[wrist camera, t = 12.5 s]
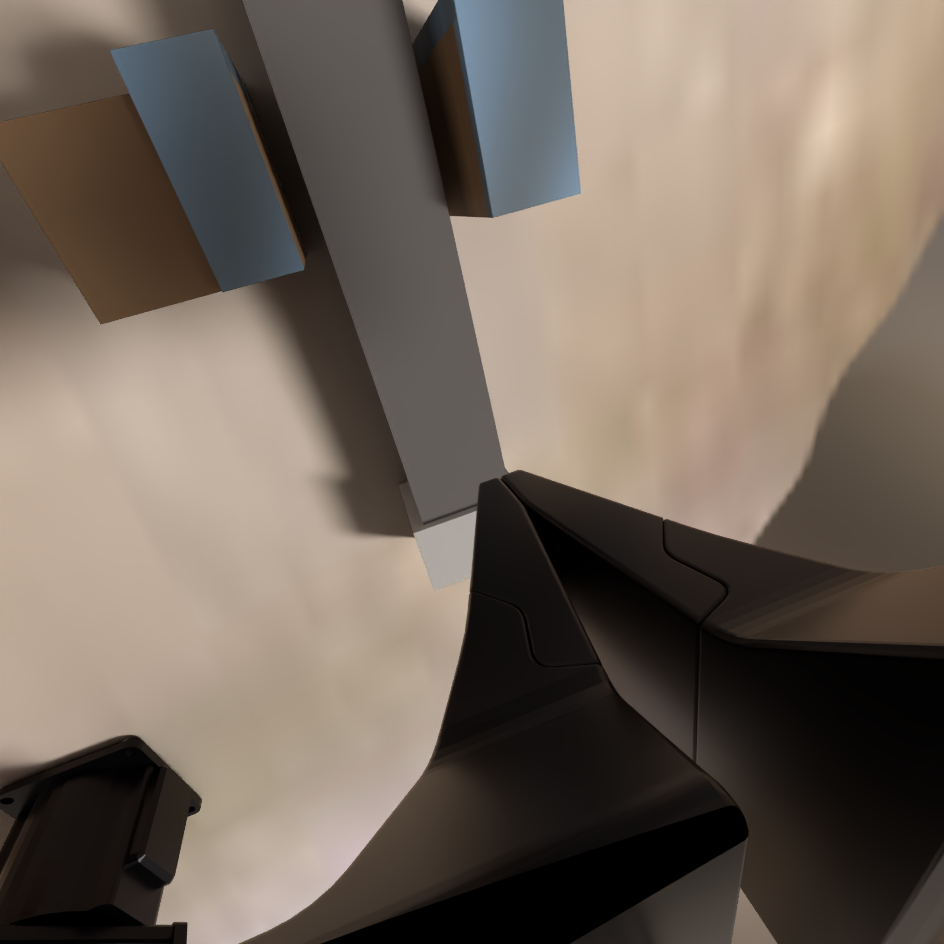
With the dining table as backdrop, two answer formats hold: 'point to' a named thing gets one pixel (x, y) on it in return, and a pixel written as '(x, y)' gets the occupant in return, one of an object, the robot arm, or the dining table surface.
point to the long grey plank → (389, 249)
